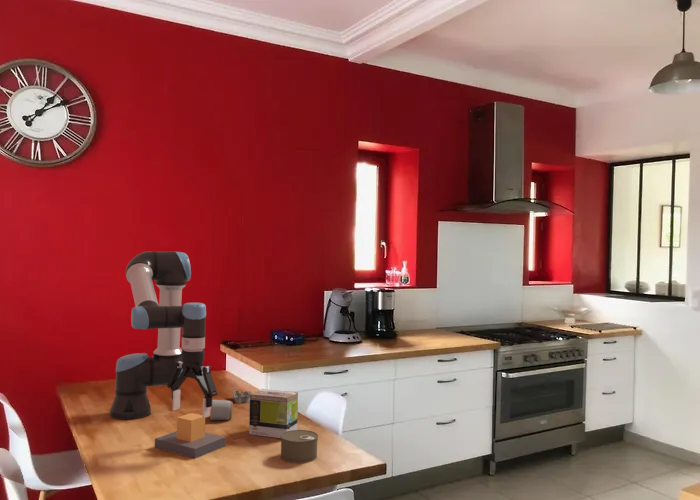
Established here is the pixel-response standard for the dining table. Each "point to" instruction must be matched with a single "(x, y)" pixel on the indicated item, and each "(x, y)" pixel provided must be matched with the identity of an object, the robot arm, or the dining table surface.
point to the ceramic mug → (221, 410)
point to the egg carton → (241, 396)
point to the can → (299, 446)
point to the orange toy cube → (190, 427)
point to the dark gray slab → (190, 444)
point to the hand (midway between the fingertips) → (190, 413)
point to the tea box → (273, 412)
